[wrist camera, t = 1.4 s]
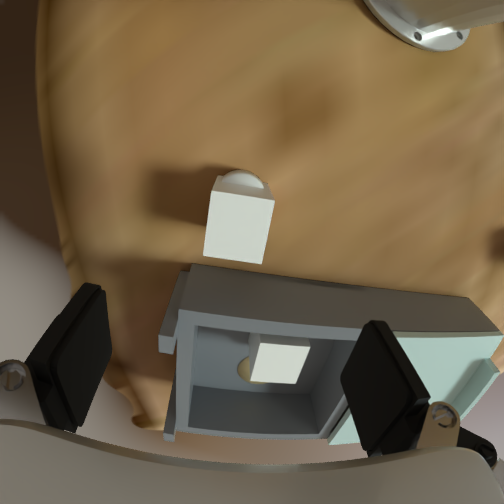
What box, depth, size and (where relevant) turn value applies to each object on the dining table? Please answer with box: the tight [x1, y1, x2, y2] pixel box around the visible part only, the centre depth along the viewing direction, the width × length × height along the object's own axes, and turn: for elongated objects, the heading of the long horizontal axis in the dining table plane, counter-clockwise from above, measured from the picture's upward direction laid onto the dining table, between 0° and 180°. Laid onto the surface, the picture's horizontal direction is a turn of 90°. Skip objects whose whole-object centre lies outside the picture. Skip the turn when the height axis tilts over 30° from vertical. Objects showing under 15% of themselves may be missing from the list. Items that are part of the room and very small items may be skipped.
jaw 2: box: [248, 332, 310, 384], centre depth 26 cm, size 5×4×6 cm
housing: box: [158, 263, 500, 442], centre depth 27 cm, size 16×34×9 cm, turn 80°
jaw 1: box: [203, 170, 275, 264], centre depth 22 cm, size 5×4×6 cm
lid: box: [327, 331, 504, 445], centre depth 24 cm, size 16×16×3 cm
